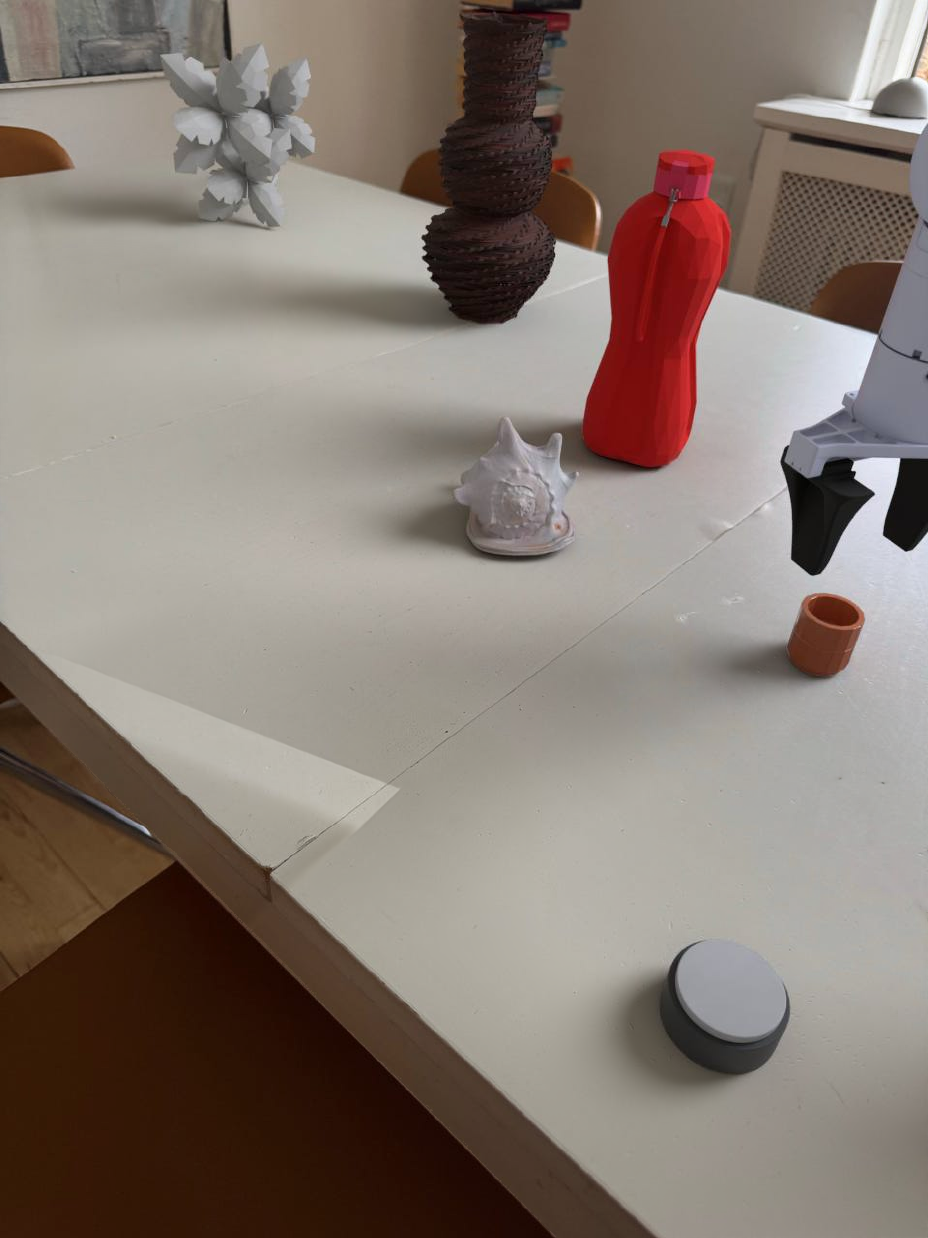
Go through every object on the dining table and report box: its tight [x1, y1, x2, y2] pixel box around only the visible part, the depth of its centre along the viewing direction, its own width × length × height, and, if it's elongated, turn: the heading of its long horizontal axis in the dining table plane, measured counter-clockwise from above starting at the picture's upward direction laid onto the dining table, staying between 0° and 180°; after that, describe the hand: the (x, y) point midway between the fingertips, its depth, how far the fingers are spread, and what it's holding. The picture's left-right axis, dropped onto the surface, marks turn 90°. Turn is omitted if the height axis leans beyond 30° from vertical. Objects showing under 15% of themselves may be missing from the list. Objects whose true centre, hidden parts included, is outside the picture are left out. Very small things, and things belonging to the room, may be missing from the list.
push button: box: [659, 938, 791, 1075], centre depth 43 cm, size 5×5×2 cm
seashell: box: [451, 416, 580, 556], centre depth 75 cm, size 10×12×9 cm
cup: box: [786, 592, 866, 678], centre depth 64 cm, size 4×4×4 cm
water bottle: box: [581, 149, 732, 469], centre depth 81 cm, size 9×11×25 cm
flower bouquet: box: [159, 42, 316, 228], centre depth 137 cm, size 17×34×21 cm, turn 160°
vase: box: [420, 11, 557, 324], centre depth 106 cm, size 15×15×30 cm
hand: (852, 554), depth 60 cm, fingers open, 7 cm apart
